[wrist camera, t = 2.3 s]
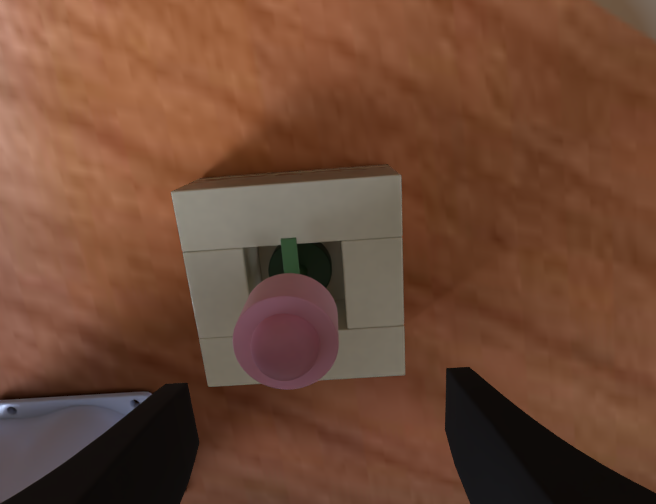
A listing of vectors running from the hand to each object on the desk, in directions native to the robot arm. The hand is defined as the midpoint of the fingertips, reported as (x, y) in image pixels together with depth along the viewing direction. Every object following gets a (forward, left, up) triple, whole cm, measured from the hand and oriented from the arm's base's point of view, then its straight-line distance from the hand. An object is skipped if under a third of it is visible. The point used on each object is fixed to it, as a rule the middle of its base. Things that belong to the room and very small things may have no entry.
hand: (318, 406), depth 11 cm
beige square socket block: (-1, +1, -10) cm, 10 cm away
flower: (-1, +1, -10) cm, 10 cm away
